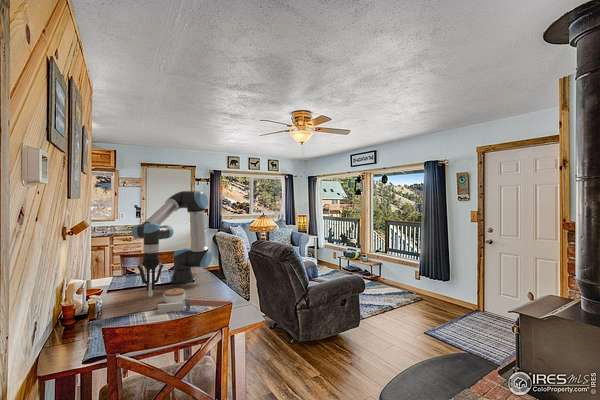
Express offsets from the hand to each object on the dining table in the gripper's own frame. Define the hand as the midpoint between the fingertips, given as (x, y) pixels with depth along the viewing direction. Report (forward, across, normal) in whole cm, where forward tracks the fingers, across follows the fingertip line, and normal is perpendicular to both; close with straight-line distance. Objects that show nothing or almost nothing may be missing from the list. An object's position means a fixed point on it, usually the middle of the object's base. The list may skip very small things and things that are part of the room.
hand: (150, 296), depth 163 cm
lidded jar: (+6, +12, 0) cm, 14 cm away
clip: (+4, +30, -14) cm, 33 cm away
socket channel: (+6, +12, 0) cm, 14 cm away
